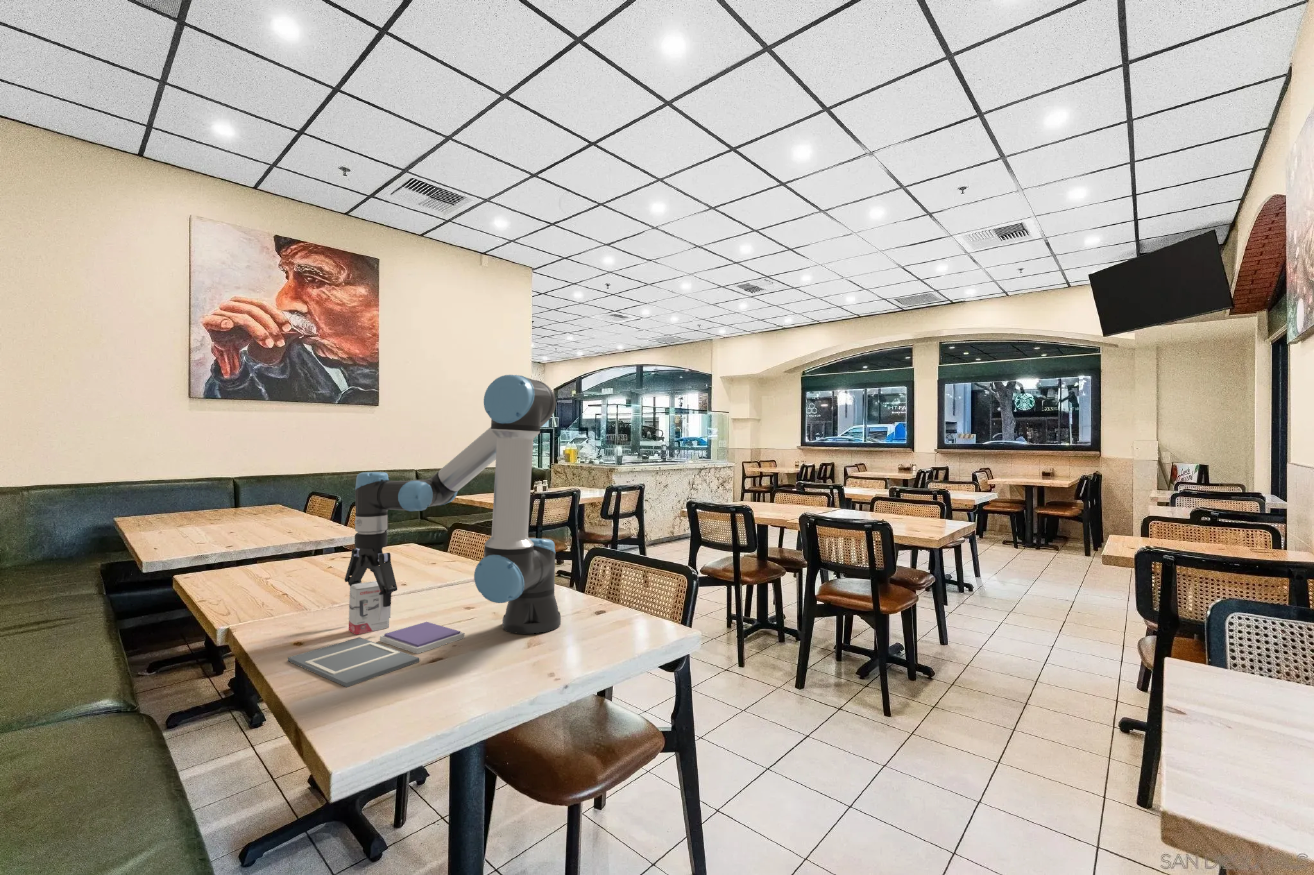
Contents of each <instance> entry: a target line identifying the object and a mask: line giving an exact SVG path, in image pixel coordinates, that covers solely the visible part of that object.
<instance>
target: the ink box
mask: <svg viewBox="0 0 1314 875" xmlns="http://www.w3.org/2000/svg"><path fill="white" fill-rule="evenodd" d="M380 592H381V591H380V588H379V586H378V583H377V581H376V580H372V581H365V582H362V583H358V584H353V585H352V586H349V600H348V601H349V604H348V608H349V609H348V631H349V632H351V633H352V634H353V635H361V634H365V633H371V632H375V631H380V630H384V629H389V628H390V618H388V619H385V620H381V621H380V620H379V593H380Z"/></svg>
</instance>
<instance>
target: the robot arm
mask: <svg viewBox="0 0 1314 875" xmlns="http://www.w3.org/2000/svg"><path fill="white" fill-rule="evenodd" d="M483 396H484V397H483V407H484V411H485V412H486V414H487V415H488V417H489V419H490V420H491V423H490V427H489V428H488V429H486V430H485V431H484V432H483V433H482V434H480V436H478V437H477V438H476V439H475V440H474V441H473V442H471V443H470V444H469V445H468V446H466V447H465V448H464V449H463V450H462V451H461V452H459V453H458V454H457V455H456V456H454V457H453V458H452V459H451V460H450V461H449V462H448V463H446V464H445V465H444V466H443V467H442V468H441V469H440V470H438V471H437V472H436V473H435V474H433V475H432V476H431V477H429V478H422V479H413V480H390V479H389V474H388V473H387V472H383V471H367V472H366V471H365V472H364V471H363V472H360V473H358V474H357V475H356V479H355V488H354V491H355V495H354V497H355V498H354V499H355V514H354V515H355V516H354V518H355V520H354V523H353V524H354V531H355V532H356V533H355V534H354V548H352V549H351V557H350V560H349V563H348V567H347V570H346V573H345V575H344V582H345V583H348V586H349V587H350V586H352V585H353V584H358V583H363V582H362V579H363V577H364V576H365V574H366V572H367V570H370V572H371V573H373V575H374V577H375V581H377V583H378V586H379V588H380V591H381V592H380V593H379V620H380V621H381V620H385V619H388V618H389V619H391V608H392V607H391V605H392V594H393V592H397V590H398V585H397V582H396V578H395V574H394V570H393V565H392V561H391V559H392V558H391V553H390V552H385V553H384V552H383V548H385V547H386V546H387V545H388V533H387V530H388V513H389V512H388V511H389V510H391V511H392V510H393V511H407V512H417V511H418V512H419V511H420V512H422V511H425V510H427V508H428V507H436V506H443V505H446V504H449V503H451V502H453V501H454V500H455V499H456V497H457V495H458V491H460V490H461V489H462V488H463V487H465V486H466V485H467V484H468V483H469V482H471V481H472V480H473V479H474V478H475V477H477V476H478V475H479V474H480V473H481V472H483V470H485V469H486V468H487V467H488V466H490V465H491V464H492V463H494V462H495V465H494V467H495V471H494V488H493V505H492V507H493V508H492V520H491V522H492V523H491V524H492V525H491V536H490V537H489V538H488V540H485V542H484V549H483V558H481V560H480V561H479V562H478V563H477V565H476V566H475V570H474V571H473V572H474V574H473V579H474V583H475V584H474V585H475V587H476V589H477V590H478V592H479V593H480V594H481V596H482V597H484V599H486V600H487V601H489V602H491V603H494V604H495V603H496V604H505V603H507V605H506V608H505V614H504V615H503V617H502V629H503V630H504V631H506V632H507V633H511V634H517V635H534V633H536V634H540V633H539V632H543V633H547V632H550V630H551V631H553V629H554V630H555V629H558V628H559V627H560V626H561V622H562V618H561V617H562V616H561V612H560V611H559V608H558V603H557V600H556V595H555V579H556V578H555V574H556V549H555V548H556V545H555V542H554V541H553V539H549V538H536V537H533V538H532V537H531V538H530V537H529V524H530V522H529V521H530V506H531V505H530V504H531V503H530V502H531V488H532V486H531V485H532V467H533V466H532V465H533V452H534V451H533V449H534V439H535V438H536V437H537V436H538V435H540V433H541V428H542V427H543V426H544V425H546V424H547V423H548V421H549V420H551V418H552V417H553V414H554V412H555V410H556V403H557V402H556V397H555V393H554V391H553V390H552V389H551V387H549V385H547V384H546V383H544V382H543V381H541V380H537V379H532V378H529V377H526V376H523V375H519V374H518V375H517V374H505V375H501V376H498V377H496V378H495V379H494V380H493V381H492V382H491V383H490V384H489V385H488V387H487V388H486V390H485V392H484V395H483ZM559 625H560V626H559ZM557 627H558V628H557ZM546 631H547V632H546Z"/></svg>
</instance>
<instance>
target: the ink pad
mask: <svg viewBox="0 0 1314 875" xmlns="http://www.w3.org/2000/svg"><path fill="white" fill-rule="evenodd" d="M465 636H466V635H465V632H462V631H460V630H457V629H454V628H449V627H447V626H442V625H440V624H437V623H434V622H429V621H425V622H422V623H417V624H414V625H411V626H407V627H404V628H400V629H397V630H394V631H390V632H387V633H384V634H383V635H380V636H379V642H382V643H384V644H387V645H390V646H393V647H396V648H399V649H401V650H404V651H407V650H408V651H407V652H410V653H414V654H416V655H418V654H421V652H422V653H424V652H428V651H430V650H433V649H437V648H439V647H442V646H444V645H447V644H446V643H448V644H451V643H454V642H457V641H460V640H462V638H463V639H464V638H465ZM453 641H454V642H453ZM441 645H442V646H441Z"/></svg>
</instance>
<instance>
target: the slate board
mask: <svg viewBox="0 0 1314 875" xmlns="http://www.w3.org/2000/svg"><path fill="white" fill-rule="evenodd" d="M289 661H290V662H289ZM287 662H289V663H291V662H292V663H291V664H293V663H295V664H296V666H298V665H299V666H298V667H300V666H302V667H303V668H302V667H301V668H302V669H304V668H306V669H305V670H307V669H308V670H307V671H309V670H310V671H309V672H311V671H312V672H311V673H313V672H315V673H314V674H316V675H319V676H320V675H321V676H320V677H323V678H325V679H327V680H329V681H332V682H334V683H336V684H338V685H340V684H341V686H343V687H346V688H349V687H351V686H354V685H357V684H359V683H362V682H365V681H368V680H371V679H373V678H377V677H379V676H382V675H385V674H387V673H388V674H389V673H391V672H393V671H396V670H399V669H402V668H405V667H408V666H411V665H414V664H416V663H419V662H420V657H417V656H415V655H412V654H409V653H406V652H404V651H400V650H398V649H394V648H392V647H390V646H385V645H383V644H380V643H378V642H375V641H372V640H369V639H366V638H364V637H360V636H359V637H355V638H352V639H348V640H345V641H341V642H338V643H334V644H331V645H327V646H323V647H320V648H317V649H313V650H309V651H306V652H302V653H299V654H295V655H291V656H289V657H287ZM295 664H294V665H295Z"/></svg>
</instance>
